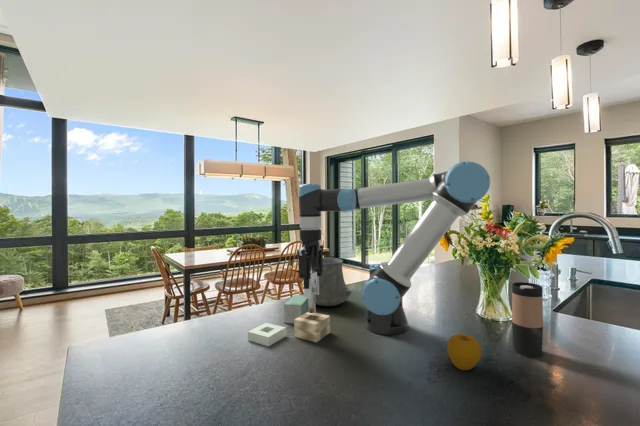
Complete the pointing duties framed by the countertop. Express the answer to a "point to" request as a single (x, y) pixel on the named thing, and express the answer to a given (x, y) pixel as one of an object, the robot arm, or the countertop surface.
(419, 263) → the robot arm
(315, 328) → the block
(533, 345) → the travel mug
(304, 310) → the box
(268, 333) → the stand
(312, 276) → the silver peg
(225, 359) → the countertop surface
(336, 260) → the vessel
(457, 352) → the apple
